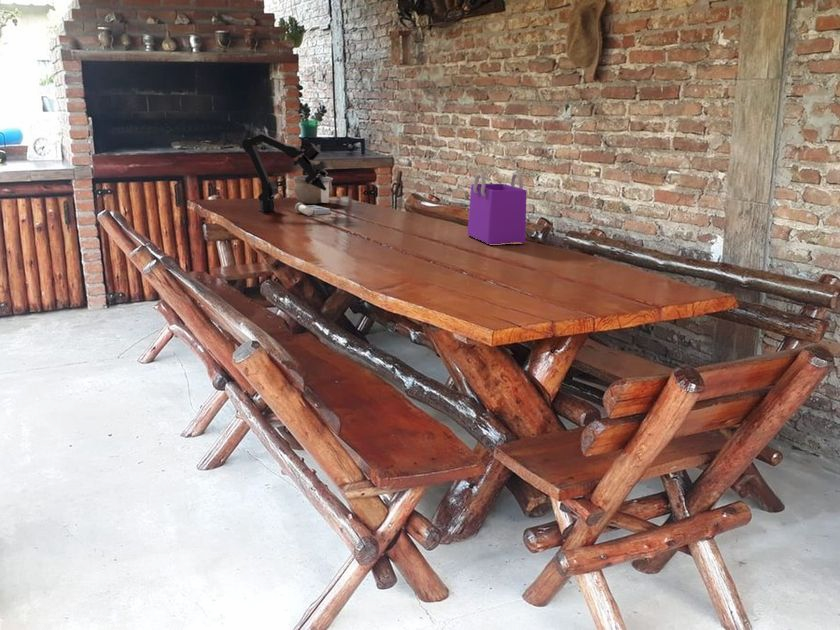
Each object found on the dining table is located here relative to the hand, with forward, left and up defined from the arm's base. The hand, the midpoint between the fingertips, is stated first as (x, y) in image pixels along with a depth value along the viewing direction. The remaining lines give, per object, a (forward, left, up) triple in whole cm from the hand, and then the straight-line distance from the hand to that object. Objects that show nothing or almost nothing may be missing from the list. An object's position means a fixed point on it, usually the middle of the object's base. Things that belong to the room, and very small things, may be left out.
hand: (327, 189), depth 422 cm
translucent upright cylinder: (-1, +1, -7) cm, 7 cm away
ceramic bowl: (+19, +43, -14) cm, 49 cm away
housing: (+1, +14, -13) cm, 19 cm away
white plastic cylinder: (-10, +10, -12) cm, 19 cm away
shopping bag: (+23, -100, -14) cm, 104 cm away
